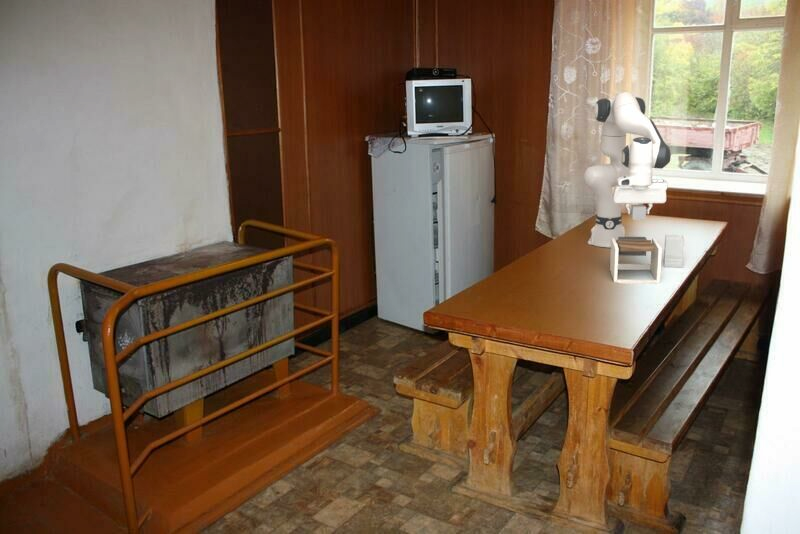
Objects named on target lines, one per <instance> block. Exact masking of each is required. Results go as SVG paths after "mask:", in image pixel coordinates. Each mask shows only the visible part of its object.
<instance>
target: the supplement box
mask: <svg viewBox="0 0 800 534" xmlns="http://www.w3.org/2000/svg"><path fill="white" fill-rule="evenodd" d="M684 241H685V239H684V235H682V234H679V235H678V234H665V236H664V252H663V253H664V254H663V267H664V268H683V259H684V258H683V257H684V256H683V255H684V246H685V245H684V244H685V242H684Z"/></svg>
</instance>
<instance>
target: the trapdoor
mask: <svg viewBox="0 0 800 534" xmlns="http://www.w3.org/2000/svg"><path fill="white" fill-rule="evenodd" d="M616 243H618V249H619V251H618V257H619V256H621V257H624V256H625V257H626V256H627V257H629V256H631V257H632V256H633V257H634V256H636V257H640V256H641V257H647V252H651V251H655V248H654V247H653V245H652V239H647V238H646V236H624V237H618V240H616Z"/></svg>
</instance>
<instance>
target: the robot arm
mask: <svg viewBox="0 0 800 534" xmlns="http://www.w3.org/2000/svg"><path fill="white" fill-rule="evenodd" d="M646 108H647V106H646V102H645V100H644V99H643V98H641V97H637V96H635V95H634V94H633V93H631V92H629V91H624V92H620V93H618V94H617V95H616V96H615V97H610V98H606V97H604V98H601V99H598V100H597V101H596V103H595V105H594V108H593V114H594V118H595V120H596V121H597V122H600V123H602V127H601V133H600V134H601V135H600V137H601V138H600V139H601V140H600V152H601V153H602V154H603V155H604V156H606V157H608V158H609V160H610V161H609V163H603V164H595V165H593V166H589V167H587V168H586V169H585V171H584V173H583V180H584V183H585V184H586V186H587V187H588V188H590V189H591V190H592V191H593V193H594V195H595V199H596V215H595V225H594V226H593V227H592V228H590V234H591V235H590V238H589V239H588V241H587V245H589V246H590V245H591V246H595V247H598V248H600V247H601V248H611V238H614V239H615V241H616V240H618V237H625V233H626V232H625V231H626V230H625V227H624V226H623V225H622V224H623V217H622V216H623V215H622V204H624V205H625V208H626V209H627V215H631V214H632V209H631V208H630V204H647V205H648V207H646V215H650V210H651V209H652V208H653V206H654V205H653V204H665V203H666V202H667V189H668V185H669V184H668V182H667V181H666V180H664V179H653V169H660V170H661V169H664V168H666V166H667V165H668V164H670V161H671V158H672V157H671V150H670V147H669V146H668V145H667V144H666V142H665V141H664V139H663V137H662V135H661V133H660V132H659V130H658V128H657V126H656V124H655V123H654V121H653V119H651V118H649V117H647V116H646V114H645V113H646V111H647V109H646ZM627 134H630V135H637V136H638V137H635V138H633V139H632V140H631V143H630V144H628V145H626V143H627ZM639 136H640V137H639ZM612 188H613V192H612ZM616 244H617V246H618V243H616Z"/></svg>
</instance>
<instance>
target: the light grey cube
mask: <svg viewBox="0 0 800 534" xmlns="http://www.w3.org/2000/svg"><path fill="white" fill-rule="evenodd" d="M630 209H632V214H630V218H631V220H632V221H635V220H636V221H637V220H640V221H646V217H647V214H646V209H647V206H646V205H645V204H631V207H630Z"/></svg>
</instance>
